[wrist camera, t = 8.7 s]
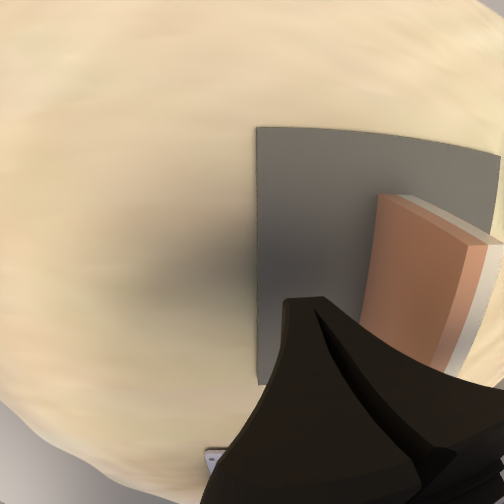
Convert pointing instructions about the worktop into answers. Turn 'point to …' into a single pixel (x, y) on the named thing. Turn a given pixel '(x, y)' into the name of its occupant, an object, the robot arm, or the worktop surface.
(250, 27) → the worktop surface
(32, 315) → the worktop surface
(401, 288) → the tile
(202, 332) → the worktop surface
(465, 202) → the plate
